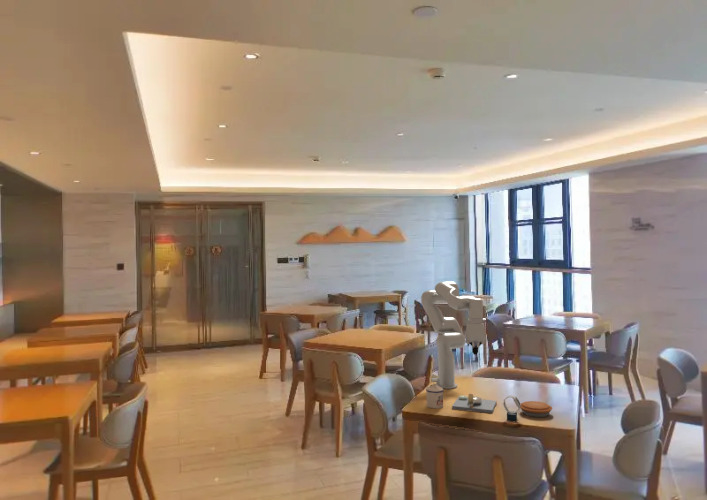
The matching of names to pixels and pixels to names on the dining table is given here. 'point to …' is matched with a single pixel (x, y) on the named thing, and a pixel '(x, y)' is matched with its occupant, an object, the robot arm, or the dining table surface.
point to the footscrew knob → (473, 400)
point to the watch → (512, 414)
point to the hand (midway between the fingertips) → (475, 354)
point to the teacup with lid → (434, 396)
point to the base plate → (485, 406)
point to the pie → (535, 409)
